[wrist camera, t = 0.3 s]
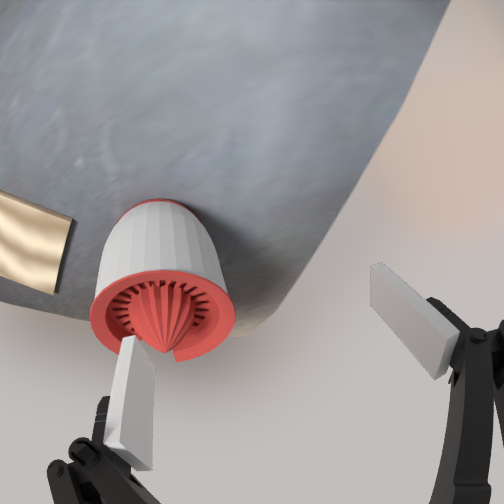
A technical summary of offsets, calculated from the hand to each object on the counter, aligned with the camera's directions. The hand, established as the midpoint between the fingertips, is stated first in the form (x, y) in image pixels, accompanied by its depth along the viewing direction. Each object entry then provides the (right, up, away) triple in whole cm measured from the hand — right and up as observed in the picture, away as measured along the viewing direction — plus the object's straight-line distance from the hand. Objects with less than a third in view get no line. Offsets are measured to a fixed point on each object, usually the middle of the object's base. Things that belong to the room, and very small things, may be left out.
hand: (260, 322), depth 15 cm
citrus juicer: (-14, +6, +27) cm, 31 cm away
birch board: (-36, +5, +20) cm, 42 cm away
